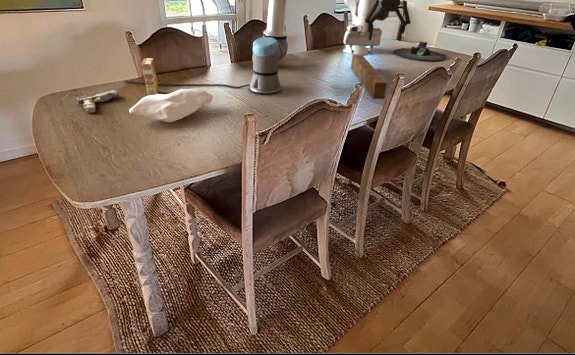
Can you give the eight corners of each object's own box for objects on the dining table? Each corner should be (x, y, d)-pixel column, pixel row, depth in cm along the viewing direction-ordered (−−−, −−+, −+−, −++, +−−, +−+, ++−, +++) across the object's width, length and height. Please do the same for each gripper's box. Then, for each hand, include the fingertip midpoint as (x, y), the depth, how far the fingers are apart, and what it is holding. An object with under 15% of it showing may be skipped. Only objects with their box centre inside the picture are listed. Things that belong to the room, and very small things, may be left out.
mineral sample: (456, 57, 245) (459, 42, 241) (423, 63, 228) (426, 48, 224) (414, 49, 270) (416, 36, 266) (381, 54, 253) (383, 40, 248)
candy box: (157, 97, 164) (152, 63, 155) (147, 98, 163) (141, 63, 155) (158, 91, 171) (153, 57, 163) (149, 91, 170) (143, 58, 162)
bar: (384, 98, 174) (387, 82, 170) (372, 98, 174) (375, 82, 169) (360, 68, 217) (361, 54, 212) (350, 67, 216) (352, 54, 212)
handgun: (128, 97, 156) (111, 87, 164) (86, 107, 144) (70, 97, 152) (129, 103, 157) (113, 94, 165) (88, 114, 146) (72, 103, 154)
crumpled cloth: (117, 110, 146) (113, 90, 140) (195, 92, 166) (194, 73, 160) (143, 139, 134) (140, 118, 128) (223, 116, 154) (224, 96, 148)
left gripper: (418, -13, 158) (408, 38, 169) (362, -15, 156) (355, 37, 168) (425, -11, 152) (413, 42, 163) (366, -13, 150) (359, 41, 161)
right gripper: (380, 27, 201) (376, 52, 209) (344, 25, 200) (341, 51, 207) (384, 29, 196) (379, 55, 203) (346, 28, 195) (343, 54, 202)
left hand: (384, 40), depth 165 cm, fingers open, 13 cm apart
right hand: (360, 53), depth 205 cm, fingers open, 8 cm apart
